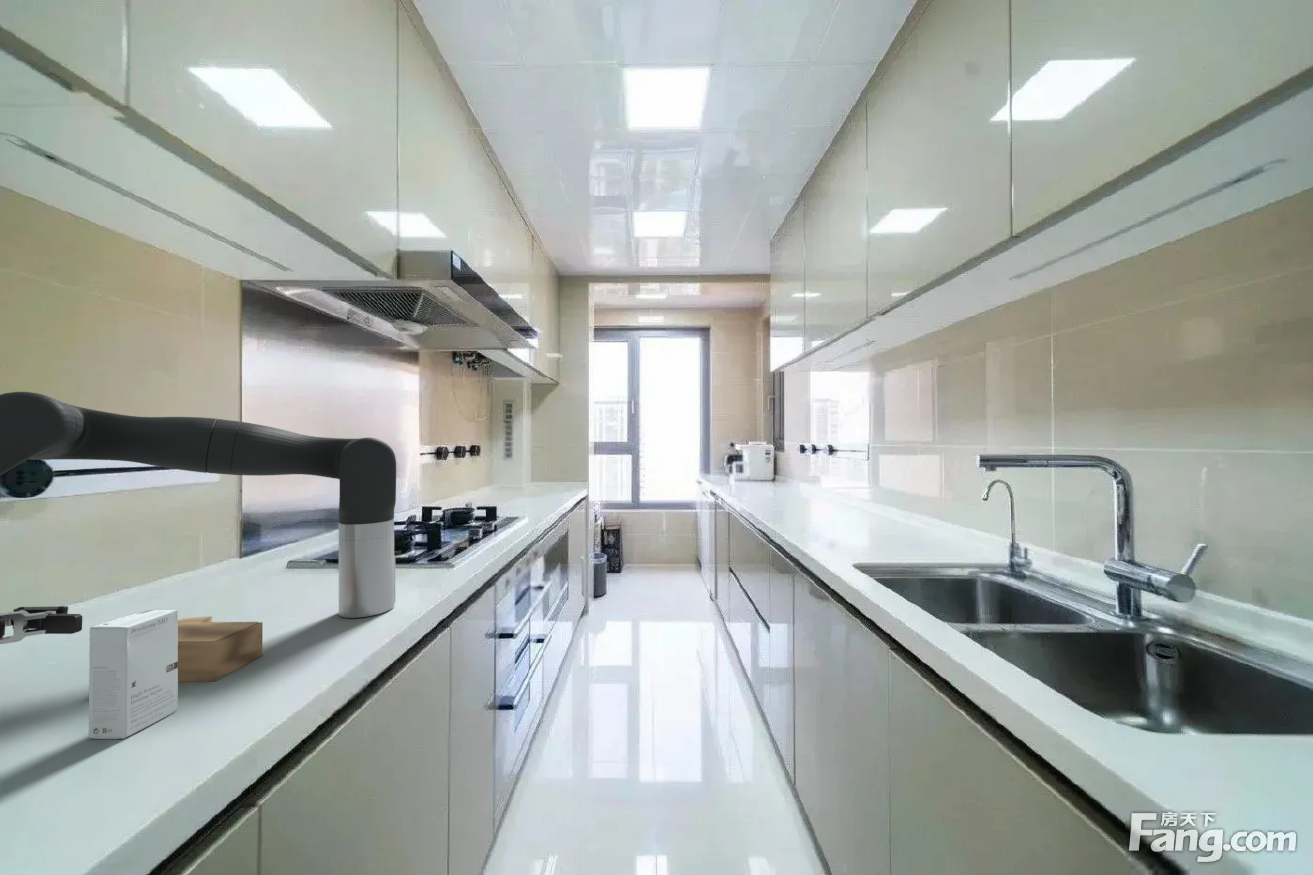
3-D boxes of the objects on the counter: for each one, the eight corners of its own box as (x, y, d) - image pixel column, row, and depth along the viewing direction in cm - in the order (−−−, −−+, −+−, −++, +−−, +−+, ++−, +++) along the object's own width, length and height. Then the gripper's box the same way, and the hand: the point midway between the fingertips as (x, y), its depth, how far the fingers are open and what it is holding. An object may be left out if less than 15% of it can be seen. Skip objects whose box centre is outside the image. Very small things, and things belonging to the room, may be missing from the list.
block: (182, 642, 79) (182, 618, 79) (211, 640, 80) (211, 615, 80) (164, 653, 75) (164, 627, 76) (195, 650, 77) (195, 624, 77)
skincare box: (126, 739, 53) (126, 627, 53) (84, 740, 53) (85, 627, 53) (181, 708, 59) (181, 608, 59) (144, 709, 59) (144, 608, 59)
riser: (183, 656, 74) (183, 621, 74) (262, 655, 74) (262, 620, 74) (126, 682, 66) (126, 642, 66) (214, 681, 66) (214, 642, 66)
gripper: (-216, 625, 49) (-55, 626, 49) (-19, 586, 63) (106, 586, 63) (-220, 701, 49) (-58, 702, 49) (-21, 644, 63) (104, 645, 63)
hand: (34, 637), depth 56 cm, fingers open, 8 cm apart
